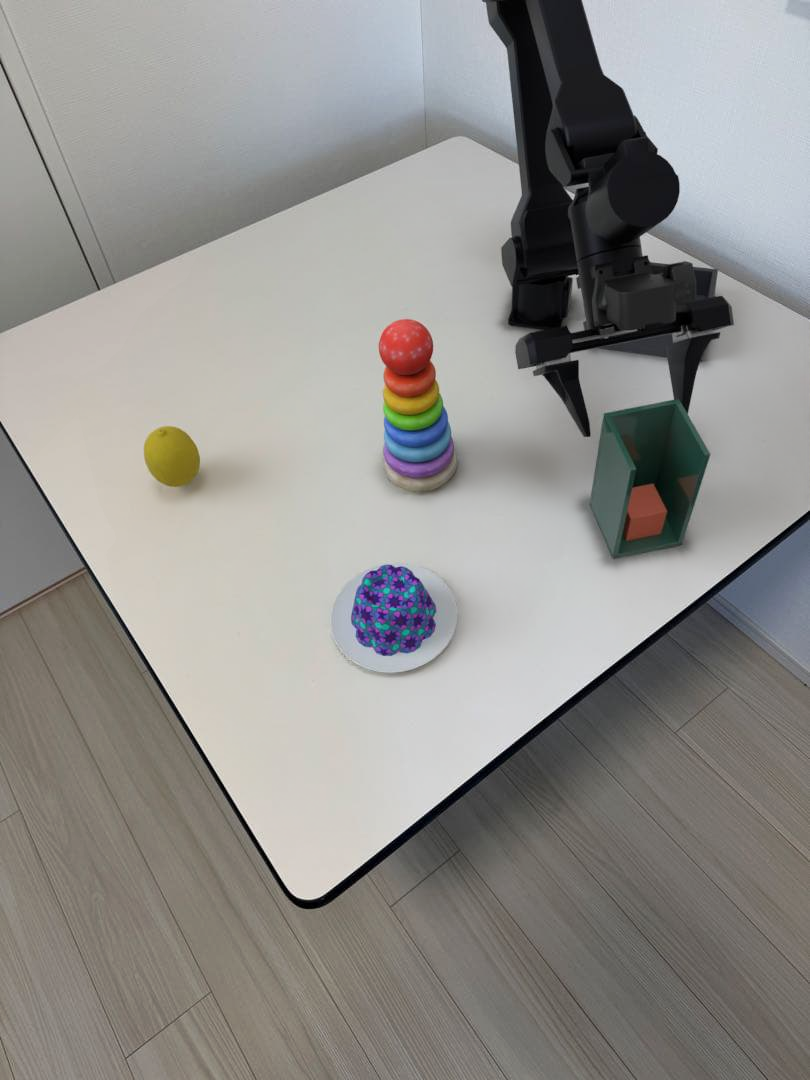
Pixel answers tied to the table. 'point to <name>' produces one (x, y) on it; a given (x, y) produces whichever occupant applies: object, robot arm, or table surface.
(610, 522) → the pour tub
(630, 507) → the toy cube
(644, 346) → the bin
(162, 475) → the lemon
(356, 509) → the table surface
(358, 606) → the pudding
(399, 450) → the stacking toy
